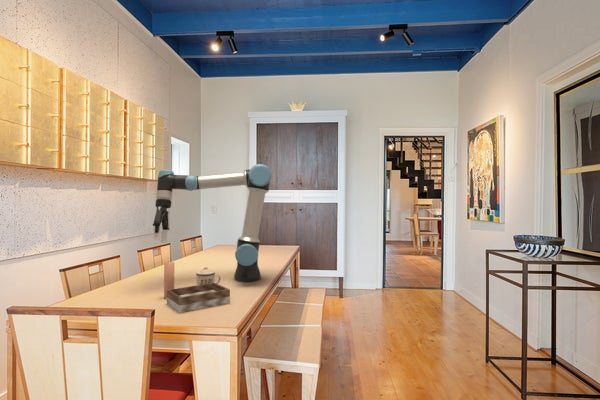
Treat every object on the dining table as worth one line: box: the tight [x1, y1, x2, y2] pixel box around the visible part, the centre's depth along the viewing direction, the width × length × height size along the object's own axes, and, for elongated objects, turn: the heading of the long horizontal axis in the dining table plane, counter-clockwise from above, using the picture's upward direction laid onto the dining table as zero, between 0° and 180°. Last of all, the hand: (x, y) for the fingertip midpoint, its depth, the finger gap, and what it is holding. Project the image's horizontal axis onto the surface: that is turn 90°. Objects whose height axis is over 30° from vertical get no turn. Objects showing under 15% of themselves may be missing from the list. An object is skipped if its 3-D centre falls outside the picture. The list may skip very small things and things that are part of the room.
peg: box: [163, 261, 175, 300], centre depth 161 cm, size 4×4×16 cm
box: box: [166, 282, 231, 314], centre depth 152 cm, size 22×16×6 cm
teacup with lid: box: [195, 266, 222, 285], centre depth 175 cm, size 12×9×12 cm
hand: (160, 241), depth 175 cm, fingers open, 13 cm apart
